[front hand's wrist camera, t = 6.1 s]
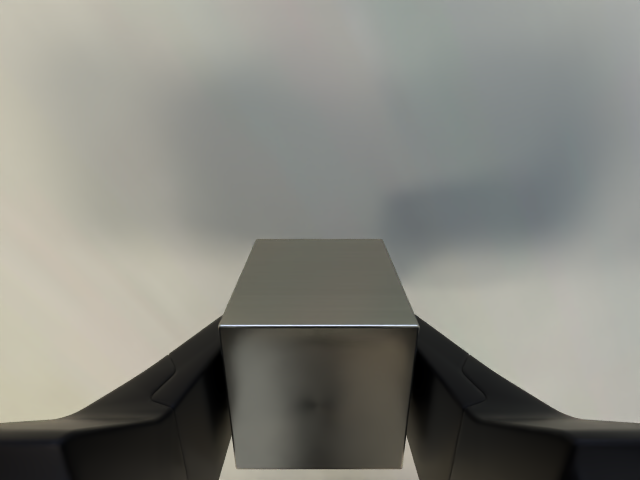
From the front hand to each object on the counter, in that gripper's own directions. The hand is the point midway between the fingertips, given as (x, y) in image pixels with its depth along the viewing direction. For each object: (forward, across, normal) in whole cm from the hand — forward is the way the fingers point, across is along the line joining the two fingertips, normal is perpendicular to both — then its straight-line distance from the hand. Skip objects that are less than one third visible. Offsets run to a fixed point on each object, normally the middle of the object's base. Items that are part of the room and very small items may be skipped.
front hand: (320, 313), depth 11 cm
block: (+1, 0, 0) cm, 1 cm away
